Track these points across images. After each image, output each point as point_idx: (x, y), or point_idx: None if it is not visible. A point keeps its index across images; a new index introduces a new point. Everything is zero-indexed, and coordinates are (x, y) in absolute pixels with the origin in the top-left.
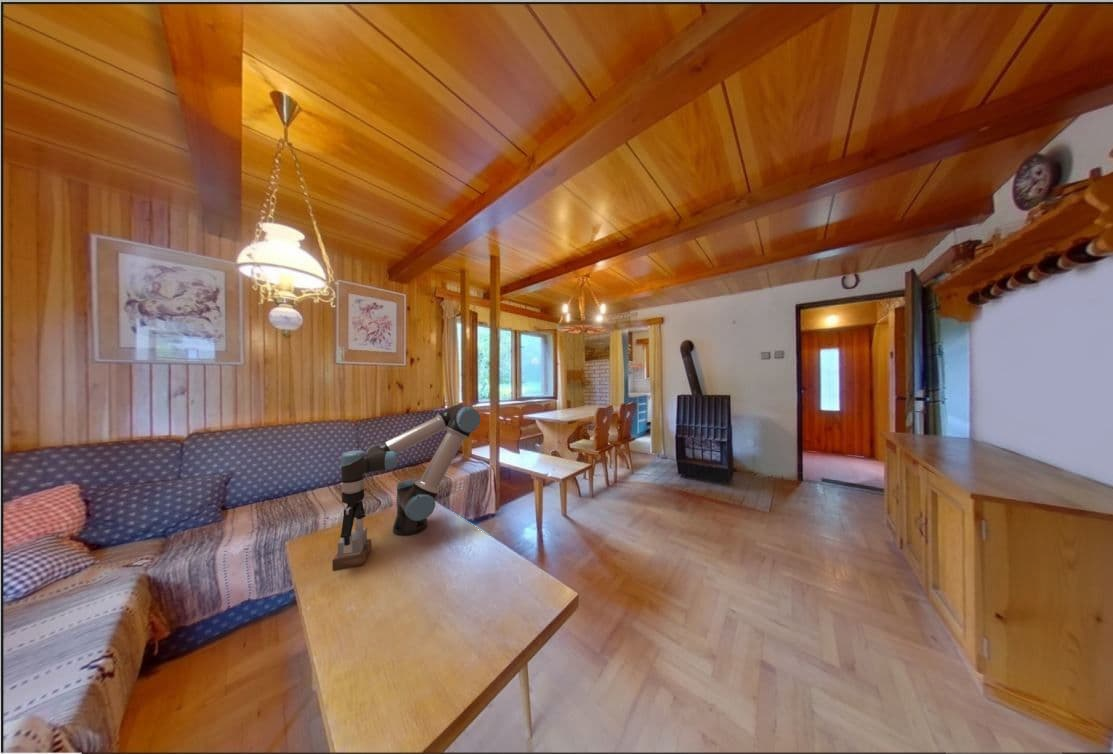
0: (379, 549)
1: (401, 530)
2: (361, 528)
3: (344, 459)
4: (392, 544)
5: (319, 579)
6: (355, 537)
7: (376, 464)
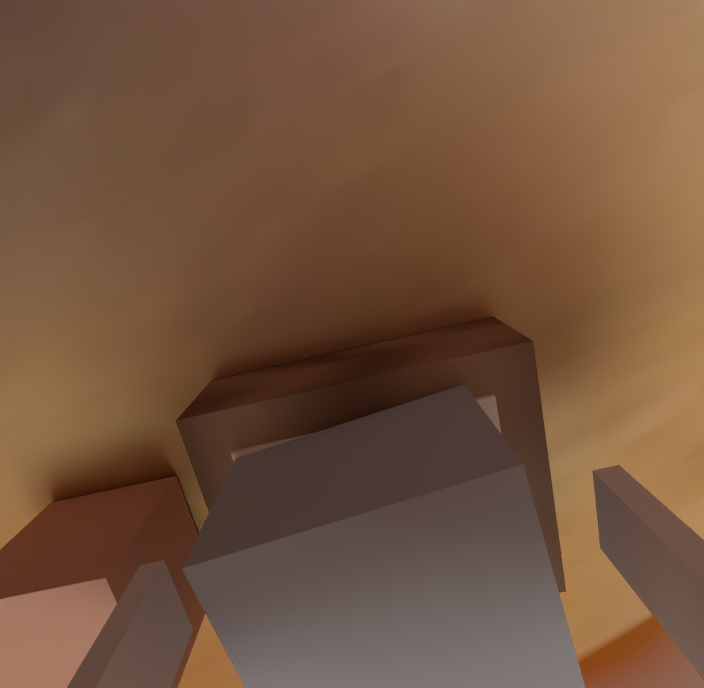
0: (211, 300)
1: None
2: (129, 650)
3: None
4: (109, 204)
5: None
6: (439, 594)
7: None
